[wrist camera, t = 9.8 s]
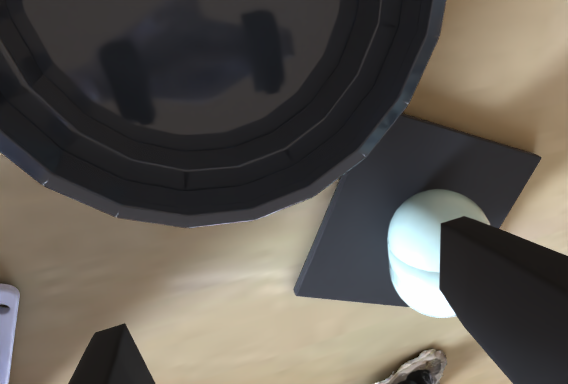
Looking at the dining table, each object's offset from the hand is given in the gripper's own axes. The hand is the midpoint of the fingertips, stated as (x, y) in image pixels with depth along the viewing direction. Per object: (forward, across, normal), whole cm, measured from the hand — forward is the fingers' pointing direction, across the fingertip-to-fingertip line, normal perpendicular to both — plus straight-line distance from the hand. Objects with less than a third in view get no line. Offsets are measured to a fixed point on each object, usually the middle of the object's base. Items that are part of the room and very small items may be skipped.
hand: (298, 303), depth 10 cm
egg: (+7, -8, +6) cm, 12 cm away
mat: (+9, -8, +6) cm, 14 cm away
